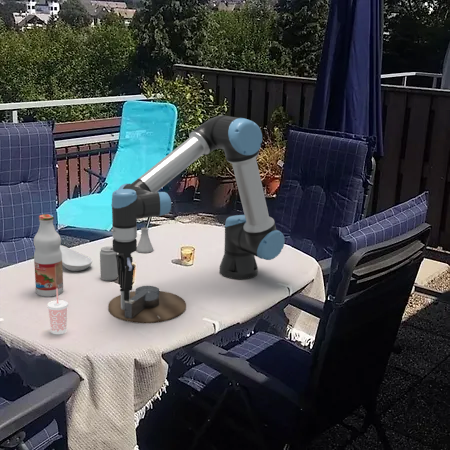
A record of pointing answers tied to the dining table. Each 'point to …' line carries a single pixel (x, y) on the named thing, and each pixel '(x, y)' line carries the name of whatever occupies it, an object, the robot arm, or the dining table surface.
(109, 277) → the beverage can
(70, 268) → the spoon rest
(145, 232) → the flask
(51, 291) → the fruit juice
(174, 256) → the dining table surface
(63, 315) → the beverage cup
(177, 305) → the dial board
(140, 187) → the robot arm
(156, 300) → the dial
